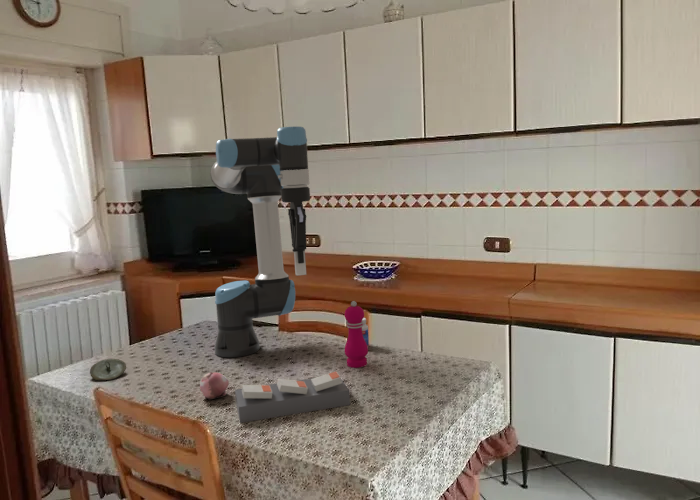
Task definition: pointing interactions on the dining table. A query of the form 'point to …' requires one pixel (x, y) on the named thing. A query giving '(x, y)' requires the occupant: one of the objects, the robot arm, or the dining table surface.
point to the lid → (107, 369)
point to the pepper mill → (355, 337)
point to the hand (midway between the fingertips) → (300, 274)
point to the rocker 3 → (326, 381)
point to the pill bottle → (365, 332)
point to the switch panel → (291, 402)
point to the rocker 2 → (292, 386)
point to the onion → (214, 385)
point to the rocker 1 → (256, 391)
